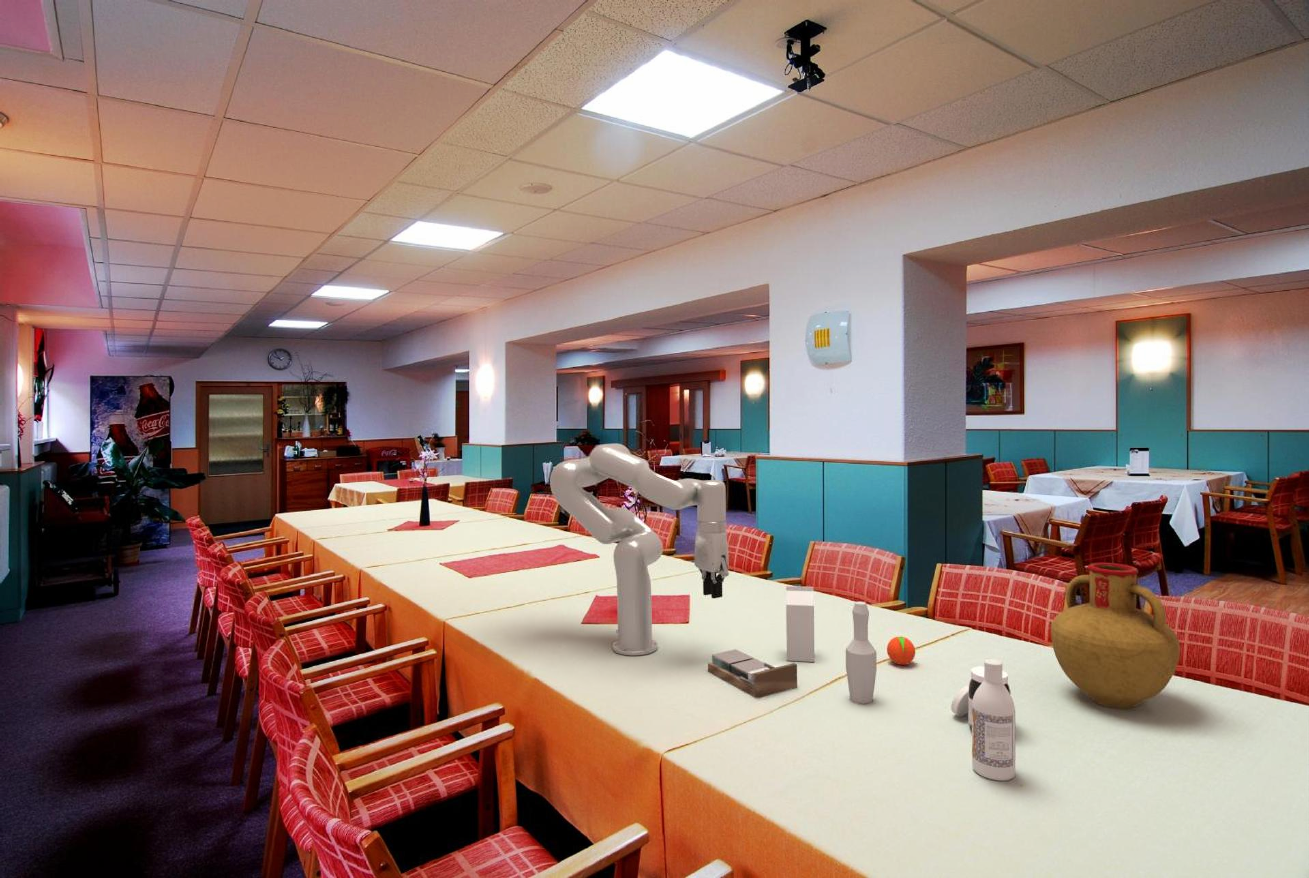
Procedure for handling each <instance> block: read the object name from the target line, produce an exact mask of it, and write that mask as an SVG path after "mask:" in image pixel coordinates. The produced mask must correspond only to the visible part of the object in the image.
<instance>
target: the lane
mask: <svg viewBox="0 0 1309 878" xmlns="http://www.w3.org/2000/svg"><path fill="white" fill-rule="evenodd" d="M764 663H765V664H764V666H765V667H767V668H769V669H768V670H764V671H760V672H756V673H754V683H753V682H751V681H749V680H747V679H745V678H743V677H738V676H736V675H734V674H732V673H730V672H728V671H726V670H724V669H722V668H721V667H719V666H717V665H715V664H713V663H712V662H707V671H708V672H709V673H711V674H713V675H714V676H716V677H719V678H720V679H721V680H724V681H726V682H727V683H729V684H731V685H732V686H734V687H736V688H738V689H739V690H740V691H741V690H742V691H744V692H745V693H747V694H749V695H751V696H752V697H754V698H755V699H756V698H757V699H759V698H762V697H767V696H770V695H774V694H777V693H778V694H779V693H781V692H785V691H788V690H792V689H795V688H798V664H797V663H795V662H793V663H789V664H785V665H781V666H780V667H776V668H775V667H773V666H774V665H771V664H768V663H766V662H764Z"/></svg>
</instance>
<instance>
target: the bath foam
mask: <svg viewBox="0 0 1309 878" xmlns="http://www.w3.org/2000/svg"><path fill="white" fill-rule="evenodd" d="M983 664H984V665H983V666H984V681H983V682H982V684H981V685H980V686H979V687H978V689H977V690H976V692H975V694H974V697H973V701H972V728H971V757H972V759H971V761H972V763H971V764H972V768H973V770H974V771H975V772H976V774H978V775H980V776H981V777H983V778H986V779H988V780H989V779H990V780H993V781H1001V782H1003V781H1009V780H1012V779H1013V778H1014V777H1015V776H1016V707H1015V703H1014V700H1013V698H1012V695H1010V693H1009V692H1008V690H1007V689H1006V687H1005V686H1004V684H1003V683H1002V670H1003V663H1002V661H1000V660H998V659H994V658H993V659H992V658H989V659H987V658H986V659H985V660H984V662H983Z"/></svg>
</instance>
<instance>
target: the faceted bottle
mask: <svg viewBox="0 0 1309 878" xmlns="http://www.w3.org/2000/svg"><path fill="white" fill-rule="evenodd" d="M869 618H870V611H869V609H868V605H867V602H865V601H856V602H854V605H853V608H852V620H853V621H852V622H853V638H852V640H850V643H849V644H848V645H847V646H846V647H845V672H846V677H847V684H848V692H849V699H851V700H852V701H853V702H854V703H858V704H861V705H862V704H870V703H871V702H872V701H874V694H875V693H874V692H875V685H876V677H877V667H878V666H877V661H878V660H877V650H876V649H875V647H874V645H873V644H872V643H871V641H870V640H869Z"/></svg>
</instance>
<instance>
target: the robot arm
mask: <svg viewBox="0 0 1309 878" xmlns="http://www.w3.org/2000/svg"><path fill="white" fill-rule="evenodd" d="M607 479H612V480H613V481H616V482H619V483H621V484H623V485H625V486H627V487H630V488H632V489H634V490H635V492H637V493H638V494H639V495H641V496H642V497H643V498H645V499H647V500H648V501H650V502H653V503H654V504H657V505H660V506H662V507H664V508H666V509H669V510H675V511H679V510H682V509H685V508H688V507H693V506H697V510H696V512H697V531H696V534H695V539H694V540H695V542H694V559H693V560H694V566H695V567H696V568H697V569H698V570H699V572H700V574H701V579H702V594H703V596H710V595H711V599H718V598H722V597H723V583H724V580H725V578H727V577H729V574H730V573H729V565H730V564H729V563H730V562H729V561H730V559H729V557H730V556H729V545H728V537H727V521H726V520H727V514H726V513H727V509H726V508H727V507H726V505H727V503H726V500H727V498H726V497H727V496H726V495H727V494H726V484H725V482H724V481H722V480H718V479H710V480H708V479H707V480H706V479H705V480H700V479H694V478H683V479H678V480H673V479H671V478H667V477H665V476H663V475H660V474H659V473H656V472H654V470H652V469H651V468H650V464H649V461H647V460H646V459H644V458H641V457H640V456H637V455H635V454H632V453H631V451H630V450H629V448H627V447H626V446H625V445H624V444H621V443H605V444H600V445H598V446H596V447H595V448H593V449H592V451H591V452H590V453H589V456H587V457H585V458H583V457H582V458H576V459H569V460H564V461H562V462H559V463H558V464H557V465H555V466H554V467H553V469H552V471H551V473H550V477H549V485H550V491H551V494H552V496H553V497H554V500H555V502H557V503H558V505H559V506H560V507H561V508H562V509H564V511H566V512H567V513H568V514H569V515H570V516H571V517H572V518H573V519H574V520H575V521H577V522H578V524H580V525H581V527H583V528H584V530H585V531H587V532H588V533H589V534H590V535H591V536H592V537H593V538H594V539H595V540H596V541H598V542H599V543H600V544H602V545H603V544H604V545H611V544H614V543H617V542H618V543H617V544H616V545H615V548H614V550H613V557H612V558H613V564H614V570H615V575H616V595H617V599H616V600H617V605H616V606H617V629H616V631H615V633H616V634H617V640H616V641H615V642H614V643H613V644H612V650H613V651H614V652H615V653H617V654H619V655H623V656H624V655H625V656H644V655H648V654H651V653H654V652H655V651H657V650H658V647H659V646H658V642H657V641H656V640H654V639H653V623H652V621H653V620H652V583H651V576H650V574H649V569H648V566H650V565H653V564H654V563H656V562H657V561H658V560H659V559H660V558H661V556H662V555H663V550H664V547H663V542H662V540H661V538H660V537H659V536H658V535H657V533H656V532H655V531H654V530H652V528H650V527H649V526H648V525H647V524H646V523H645V522H644V521H643V520H642V519H641V518H640V517H638V516H637V515H636V514H635V513H633V512H632V511H631V510H629V509H627V508H624V507H614V508H609V507H607V506H605V504H603V503H602V502H601V501H600V500H599V499H598V498H597V497H596V496H594V494H591V493H590V492H588V491H586V490H585V489H583V488H586V487H591V486H593V485H596V484H599V483H601V482H603V481H605V480H607Z"/></svg>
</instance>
